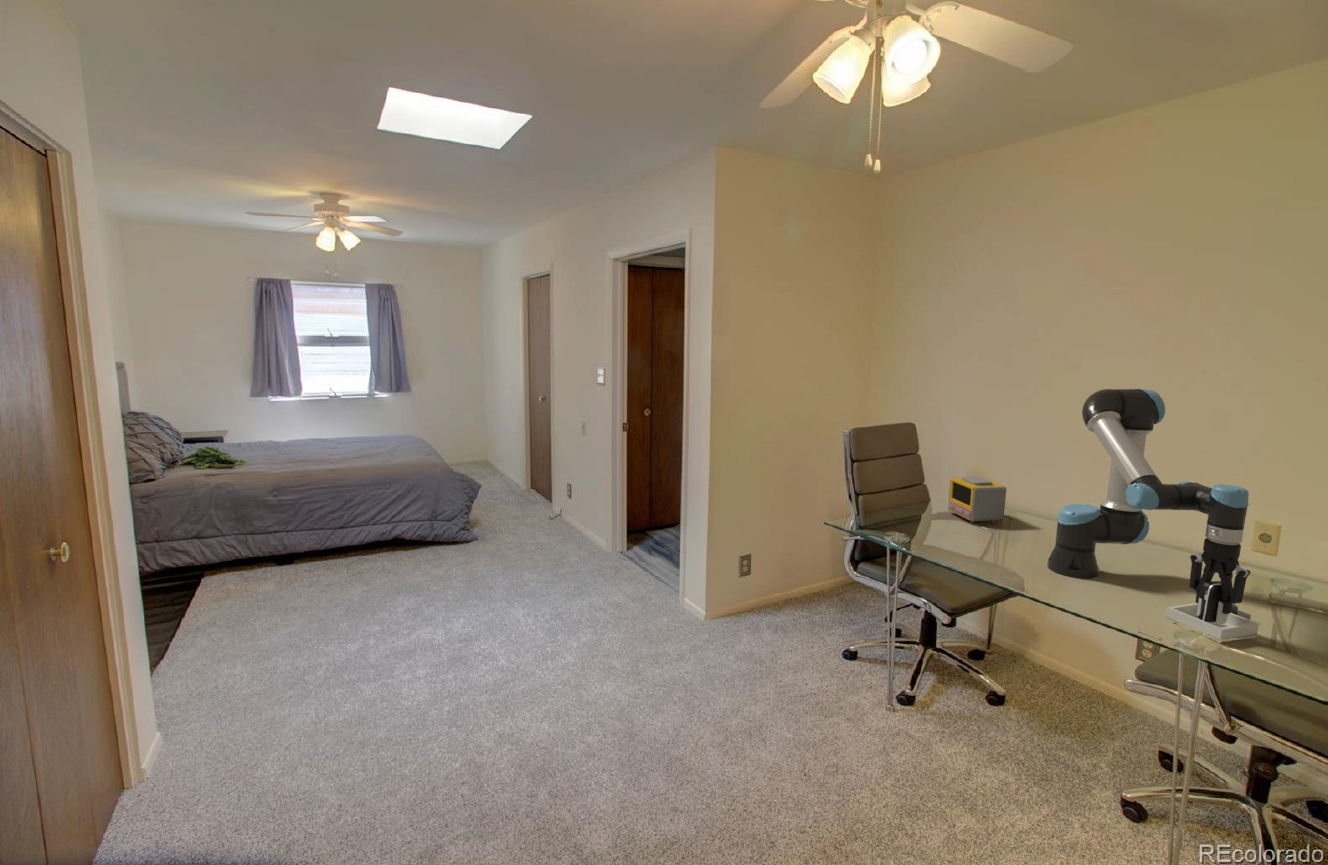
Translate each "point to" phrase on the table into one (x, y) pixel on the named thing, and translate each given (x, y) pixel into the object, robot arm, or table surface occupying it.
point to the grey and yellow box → (977, 499)
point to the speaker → (1239, 612)
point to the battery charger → (1210, 600)
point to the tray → (1213, 623)
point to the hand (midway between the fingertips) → (1210, 619)
